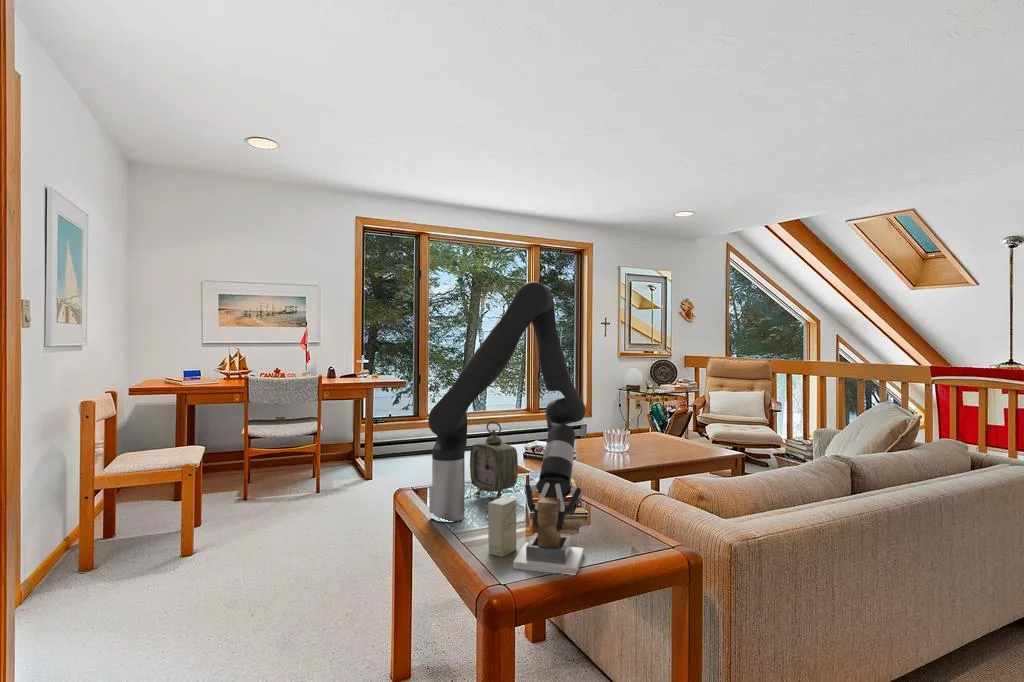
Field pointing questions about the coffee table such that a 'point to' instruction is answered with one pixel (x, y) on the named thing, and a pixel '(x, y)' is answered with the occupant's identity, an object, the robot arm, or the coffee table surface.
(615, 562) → the coffee table surface
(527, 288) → the robot arm
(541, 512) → the walnut peg
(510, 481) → the tabletop clock
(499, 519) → the skincare box
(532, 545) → the mount board
